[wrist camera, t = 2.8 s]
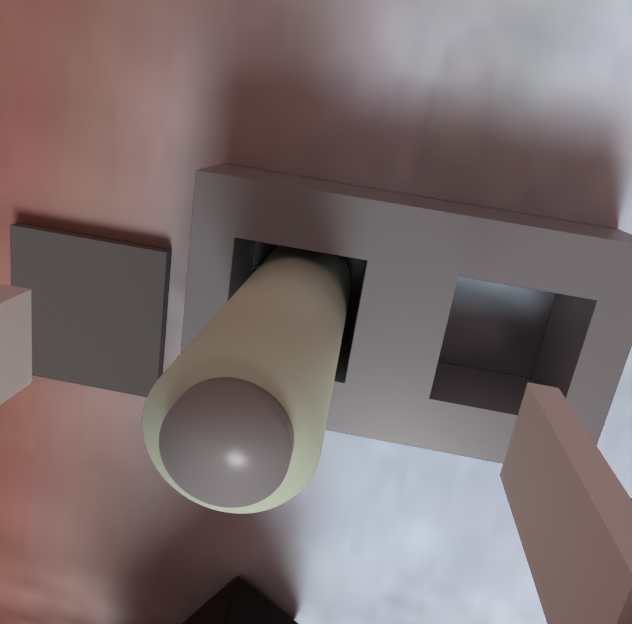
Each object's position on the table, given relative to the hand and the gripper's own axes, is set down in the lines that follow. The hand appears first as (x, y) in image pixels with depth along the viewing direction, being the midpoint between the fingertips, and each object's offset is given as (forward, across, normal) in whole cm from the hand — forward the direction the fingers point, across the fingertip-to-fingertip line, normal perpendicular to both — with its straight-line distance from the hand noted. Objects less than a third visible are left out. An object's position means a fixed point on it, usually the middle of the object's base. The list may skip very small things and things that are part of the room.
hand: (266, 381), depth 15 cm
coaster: (+10, -10, -3) cm, 15 cm away
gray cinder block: (+10, +4, 0) cm, 11 cm away
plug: (+10, 0, 0) cm, 10 cm away
